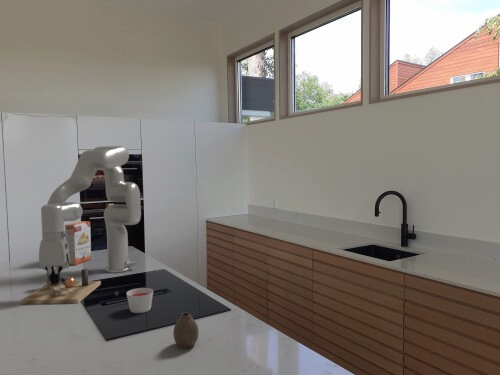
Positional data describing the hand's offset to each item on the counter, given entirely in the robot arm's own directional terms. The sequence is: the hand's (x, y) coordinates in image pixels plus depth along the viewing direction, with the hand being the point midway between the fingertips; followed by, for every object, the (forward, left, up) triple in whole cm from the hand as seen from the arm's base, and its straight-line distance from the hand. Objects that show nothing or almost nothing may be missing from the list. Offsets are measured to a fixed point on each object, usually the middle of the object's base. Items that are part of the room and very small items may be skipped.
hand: (55, 283), depth 153 cm
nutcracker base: (-1, -4, -5) cm, 7 cm away
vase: (-57, +44, -6) cm, 72 cm away
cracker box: (+14, -56, -5) cm, 58 cm away
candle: (-37, +16, -6) cm, 41 cm away
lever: (0, -5, -1) cm, 5 cm away
